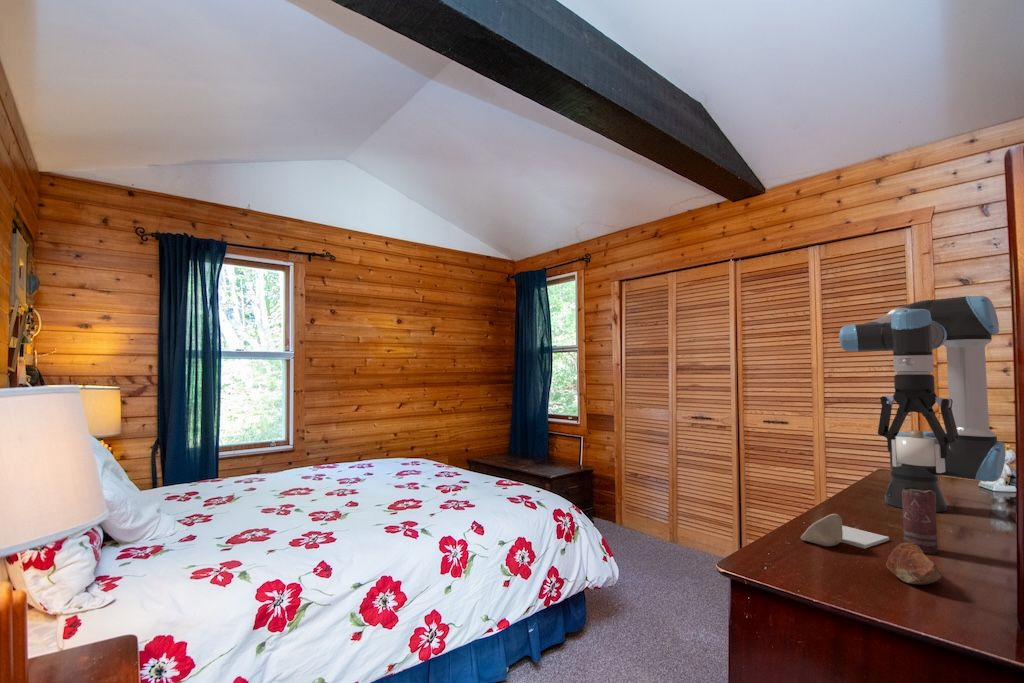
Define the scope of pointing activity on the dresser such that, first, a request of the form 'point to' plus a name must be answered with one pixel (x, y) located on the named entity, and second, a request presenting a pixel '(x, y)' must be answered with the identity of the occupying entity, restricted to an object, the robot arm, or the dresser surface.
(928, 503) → the can
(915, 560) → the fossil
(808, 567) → the dresser surface
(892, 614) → the dresser surface
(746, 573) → the dresser surface
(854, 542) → the mat
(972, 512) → the dresser surface
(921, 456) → the cloche
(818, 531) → the stone
